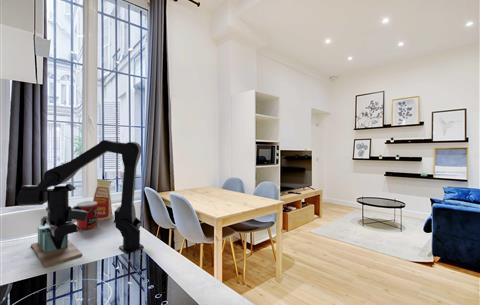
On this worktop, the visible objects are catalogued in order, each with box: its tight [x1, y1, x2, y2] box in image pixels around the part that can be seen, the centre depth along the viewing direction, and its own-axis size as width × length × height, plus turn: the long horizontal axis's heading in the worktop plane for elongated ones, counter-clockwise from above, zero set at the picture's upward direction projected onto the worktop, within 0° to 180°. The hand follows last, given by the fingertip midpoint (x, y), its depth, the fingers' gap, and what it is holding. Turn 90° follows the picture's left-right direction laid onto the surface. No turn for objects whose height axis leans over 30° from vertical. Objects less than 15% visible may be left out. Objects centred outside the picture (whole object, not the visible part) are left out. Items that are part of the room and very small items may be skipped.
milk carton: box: [92, 178, 114, 221], centre depth 118 cm, size 9×9×20 cm
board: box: [30, 239, 83, 268], centre depth 82 cm, size 21×10×1 cm, turn 51°
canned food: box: [76, 200, 98, 231], centre depth 104 cm, size 8×8×11 cm
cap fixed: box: [37, 224, 49, 246], centre depth 87 cm, size 4×6×6 cm, turn 141°
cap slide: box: [43, 232, 69, 253], centre depth 82 cm, size 4×6×6 cm, turn 141°
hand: (58, 248), depth 79 cm, fingers closed
